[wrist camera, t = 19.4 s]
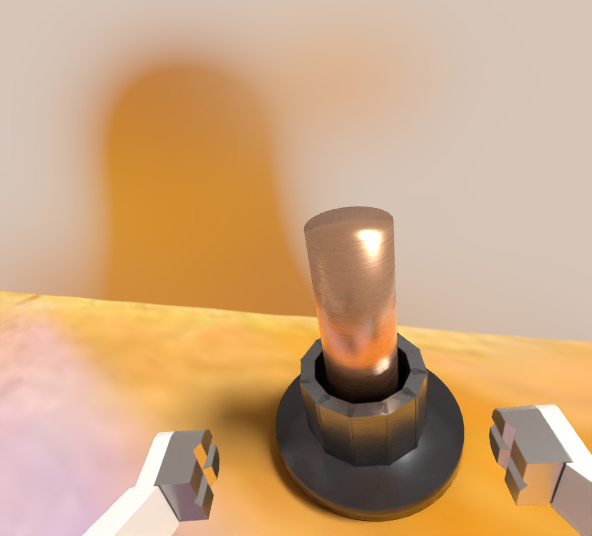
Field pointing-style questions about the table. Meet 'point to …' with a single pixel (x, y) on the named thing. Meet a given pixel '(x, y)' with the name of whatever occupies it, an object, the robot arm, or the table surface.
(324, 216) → the copper pipe
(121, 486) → the table surface
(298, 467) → the pipe sleeve
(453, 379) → the table surface
